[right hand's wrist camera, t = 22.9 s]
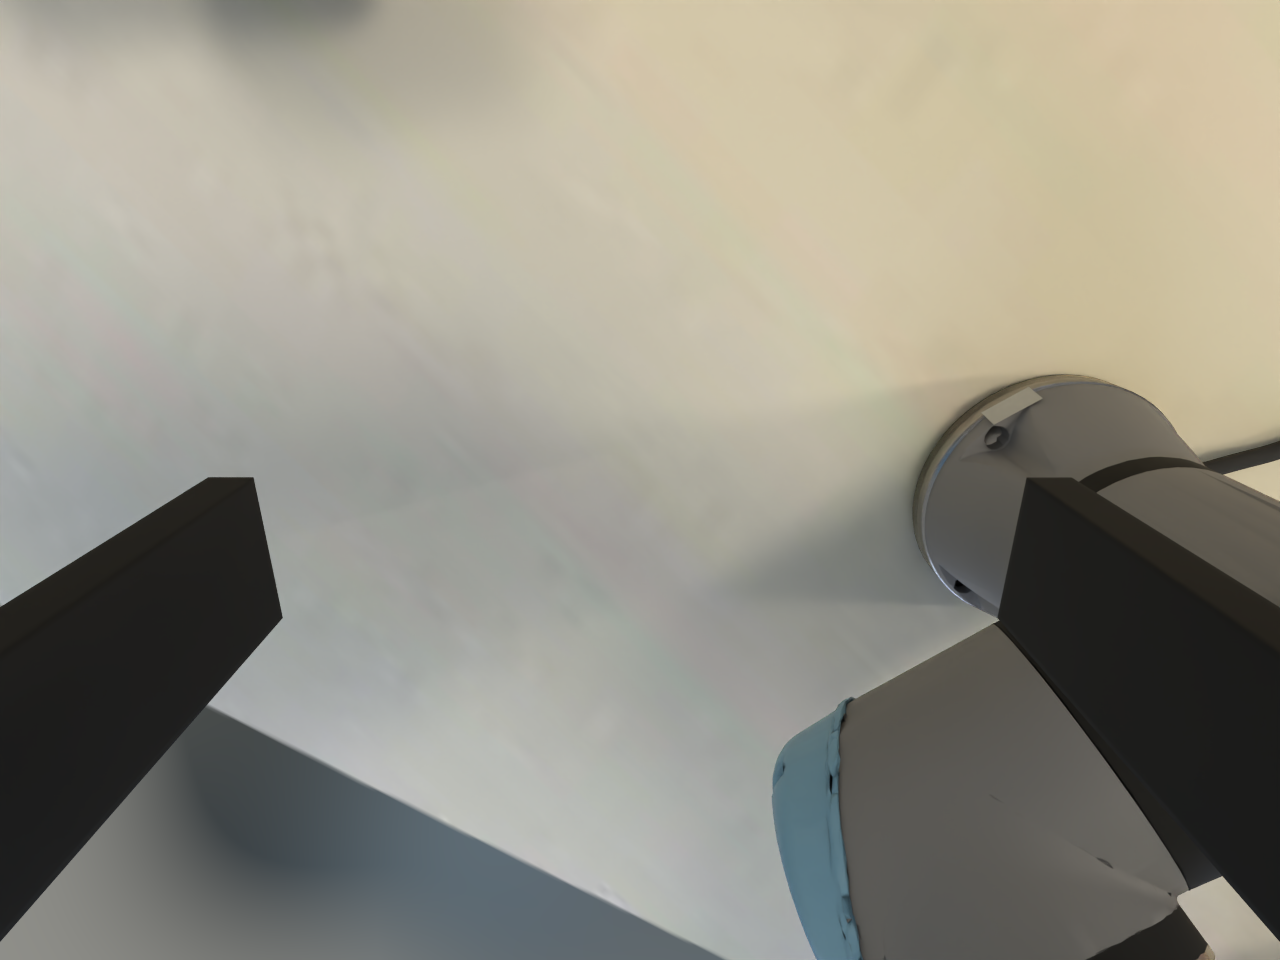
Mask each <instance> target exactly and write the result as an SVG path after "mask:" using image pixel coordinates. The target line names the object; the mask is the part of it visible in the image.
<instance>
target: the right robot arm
mask: <svg viewBox="0 0 1280 960" xmlns="http://www.w3.org/2000/svg"><path fill="white" fill-rule="evenodd" d="M1278 459H1280V441H1279V442H1276V443H1272V444H1269V445H1266V446H1262V447H1259V448H1255V449H1251V450H1247V451H1243V452H1239V453H1235V454H1232V455H1228V456H1224V457H1221V458H1217V459H1213V460H1210V461H1206V462H1201V461H1200V459H1199V458H1198V457H1197V456H1196V455H1195V453H1194V452H1193V451H1192V450H1191V449H1190V448H1189V446H1188V445H1187V444H1186V443H1185V442H1184V441H1183V440H1182V439H1181V437H1180V436H1179V435H1178V434H1177V432H1176V431H1175V429H1174V427H1173V426H1172V425H1171V423H1170V422H1169V421H1168V419H1167V418H1166V417H1165V416H1164V415H1163V413H1162V412H1161V411H1160V410H1159V409H1157V408H1156V407H1155V406H1154V405H1153V404H1152V403H1150V402H1149V401H1147V400H1146V399H1145V398H1143V397H1141V396H1139V395H1137V394H1135V393H1134V392H1131V391H1129V390H1126V389H1124V388H1121V387H1119V386H1116V385H1114V384H1111V383H1109V382H1106V381H1104V380H1100V379H1097V378H1093V377H1087V376H1081V375H1052V376H1045V377H1039V378H1035V379H1030V380H1026V381H1023V382H1020V383H1017V384H1014V385H1012V386H1009V387H1007V388H1005V389H1002V390H1000V391H998V392H996V393H995V394H993V395H991V396H989V397H987V398H986V399H984V400H983V401H981V402H979V403H978V404H976V405H975V406H974V407H972V408H971V409H970V410H968V411H967V412H966V413H965V414H964V415H963V416H961V417H960V418H959V419H958V420H957V421H956V422H955V423H954V424H953V425H952V426H951V427H950V428H949V429H948V430H947V431H946V433H945V434H944V435H943V436H942V438H941V439H940V440H939V441H938V443H937V444H936V446H935V447H934V449H933V450H932V452H931V453H930V455H929V457H928V459H927V461H926V462H925V465H924V467H923V469H922V471H921V474H920V477H919V480H918V483H917V486H916V490H915V495H914V502H913V526H914V532H915V536H916V540H917V543H918V546H919V549H920V551H921V553H922V555H923V557H924V559H925V560H926V562H927V563H928V565H929V566H930V567H931V569H932V570H933V571H934V572H935V574H936V575H937V576H938V577H939V579H940V580H941V581H942V582H943V583H944V585H945V586H946V587H947V588H948V589H949V590H950V591H951V592H952V593H954V594H955V595H956V596H957V597H959V598H960V599H961V600H963V601H965V602H966V603H968V604H970V605H972V606H974V607H976V608H978V609H980V610H982V611H984V612H986V613H988V614H991V615H993V616H995V617H997V618H998V619H999V620H1000V621H998V622H996V623H993V624H992V625H990V626H988V627H986V628H985V629H983V630H981V631H979V632H977V633H975V634H974V635H972V636H970V637H968V638H966V639H965V640H963V641H961V642H959V643H957V644H955V645H954V646H952V647H950V648H948V649H946V650H944V651H943V652H941V653H939V654H937V655H935V656H933V657H932V658H930V659H928V660H926V661H924V662H922V663H921V664H919V665H917V666H915V667H913V668H911V669H910V670H908V671H906V672H904V673H902V674H901V675H899V676H897V677H895V678H893V679H891V680H890V681H888V682H886V683H884V684H882V685H880V686H879V687H877V688H875V689H873V690H871V691H869V692H868V693H866V694H864V695H862V696H860V697H858V698H857V699H855V698H853V697H850V698H848V699H845V700H843V701H842V702H841V703H840V704H839V705H838V707H837V709H836V711H834V712H832V713H831V714H829V715H828V716H826V717H824V718H823V719H821V720H820V721H818V722H816V723H815V724H813V725H812V726H810V727H808V728H807V729H805V730H803V731H802V732H800V733H799V734H797V735H795V736H794V737H793V738H792V739H790V740H789V741H788V742H787V744H786V745H785V746H784V748H783V749H782V751H781V752H780V754H779V756H778V758H777V761H776V764H775V769H774V773H773V795H772V807H773V817H774V824H775V831H776V836H777V842H778V846H779V851H780V855H781V860H782V864H783V868H784V871H785V875H786V878H787V882H788V885H789V889H790V892H791V895H792V898H793V901H794V904H795V907H796V910H797V913H798V915H799V918H800V921H801V923H802V926H803V929H804V931H805V934H806V936H807V939H808V941H809V943H810V946H811V948H812V950H813V952H814V955H815V957H816V959H817V960H1215V955H1214V952H1213V951H1212V949H1211V948H1210V946H1209V945H1208V943H1207V942H1206V941H1205V940H1204V938H1203V937H1202V936H1201V934H1200V933H1199V931H1198V930H1197V929H1196V927H1195V926H1194V925H1193V923H1192V922H1191V921H1190V919H1189V918H1188V916H1187V915H1186V914H1185V912H1184V911H1183V910H1182V908H1181V907H1180V905H1179V904H1178V902H1177V896H1178V895H1180V894H1182V893H1184V892H1186V891H1188V890H1191V889H1193V888H1196V887H1198V886H1200V885H1202V884H1205V883H1207V882H1209V881H1212V880H1214V879H1216V878H1219V877H1221V876H1223V877H1224V878H1225V879H1226V881H1227V882H1228V883H1229V884H1230V885H1231V886H1232V887H1233V889H1234V890H1235V891H1236V892H1237V893H1238V894H1239V895H1240V897H1241V898H1242V899H1243V900H1244V901H1245V902H1246V903H1247V905H1248V906H1249V907H1250V908H1251V909H1252V910H1253V912H1254V913H1255V914H1256V915H1257V916H1258V917H1259V918H1260V920H1261V921H1262V922H1263V923H1264V924H1265V925H1266V926H1267V928H1268V929H1269V930H1270V931H1271V932H1272V933H1273V934H1274V936H1275V937H1276V938H1277V939H1278V940H1279V941H1280V501H1277V500H1275V499H1273V498H1271V497H1269V496H1267V495H1265V494H1263V493H1261V492H1258V491H1256V490H1254V489H1252V488H1250V487H1248V486H1246V485H1244V484H1241V483H1239V482H1237V481H1235V480H1233V479H1231V478H1229V477H1226V476H1224V475H1223V474H1227V473H1230V472H1234V471H1238V470H1241V469H1245V468H1249V467H1253V466H1257V465H1261V464H1265V463H1268V462H1272V461H1275V460H1278ZM282 618H283V617H282V612H281V607H280V602H279V598H278V593H277V588H276V583H275V578H274V574H273V569H272V564H271V559H270V554H269V550H268V545H267V540H266V535H265V531H264V526H263V521H262V516H261V511H260V507H259V502H258V497H257V492H256V487H255V483H254V478H253V477H208V478H207V479H205V480H203V481H202V482H200V483H199V484H197V485H195V486H194V487H192V488H191V489H189V490H187V491H186V492H184V493H183V494H181V495H179V496H178V497H176V498H175V499H173V500H171V501H170V502H168V503H167V504H165V505H163V506H162V507H160V508H159V509H157V510H155V511H154V512H152V513H151V514H149V515H147V516H146V517H144V518H142V519H141V520H139V521H138V522H136V523H134V524H133V525H131V526H130V527H128V528H126V529H125V530H123V531H122V532H120V533H118V534H117V535H115V536H114V537H112V538H110V539H109V540H107V541H106V542H104V543H102V544H101V545H99V546H98V547H96V548H94V549H93V550H91V551H90V552H88V553H86V554H85V555H83V556H82V557H80V558H78V559H77V560H75V561H74V562H72V563H70V564H69V565H67V566H66V567H64V568H62V569H61V570H59V571H58V572H56V573H54V574H53V575H51V576H49V577H48V578H46V579H45V580H43V581H41V582H40V583H38V584H37V585H35V586H33V587H32V588H30V589H29V590H27V591H25V592H24V593H22V594H21V595H19V596H17V597H16V598H14V599H13V600H11V601H9V602H8V603H6V604H5V605H3V606H1V607H0V941H1V940H2V939H3V938H4V937H5V936H6V934H7V933H8V932H9V931H10V930H11V929H12V928H13V926H14V925H15V924H16V923H17V922H18V921H19V919H20V918H21V917H22V916H23V915H24V914H25V913H26V912H27V910H28V909H29V908H30V907H31V906H32V905H33V904H34V902H35V901H36V900H37V899H38V898H39V897H40V895H41V894H42V893H43V892H44V891H45V890H46V889H47V887H48V886H49V885H50V884H51V883H52V882H53V881H54V879H55V878H56V877H57V876H58V875H59V874H60V873H61V871H62V870H63V869H64V868H65V867H66V866H67V865H68V863H69V862H70V861H71V860H72V859H73V858H74V856H75V855H76V854H77V853H78V852H79V851H80V850H81V848H82V847H83V846H84V845H85V844H86V843H87V842H88V840H89V839H90V838H91V837H92V836H93V835H94V834H95V832H96V831H97V830H98V829H99V828H100V827H101V825H102V824H103V823H104V822H105V821H106V820H107V819H108V818H109V816H110V815H111V814H112V813H113V812H114V811H115V809H116V808H117V807H118V806H119V805H120V804H121V803H122V801H123V800H124V799H125V798H126V797H127V796H128V795H129V793H130V792H131V791H132V790H133V789H134V788H135V787H136V785H137V784H138V783H139V782H140V781H141V780H142V779H143V777H144V776H145V775H146V774H147V773H148V772H149V771H150V769H151V768H152V767H153V766H154V765H155V764H156V762H157V761H158V760H159V759H160V758H161V757H162V756H163V754H164V753H165V752H166V751H167V750H168V749H169V748H170V746H171V745H172V744H173V743H174V742H175V741H176V740H177V738H178V737H179V736H180V735H181V734H182V733H183V731H184V730H185V729H186V728H187V727H188V726H189V725H190V724H191V722H192V721H193V720H194V719H195V718H196V717H197V715H198V714H199V713H200V712H201V711H202V710H203V709H204V707H205V706H206V705H207V704H208V703H209V702H210V701H211V699H212V698H213V697H214V696H215V695H216V694H217V693H218V691H219V690H220V689H221V688H222V687H223V686H224V685H225V683H226V682H227V681H228V680H229V679H230V678H231V677H232V675H233V674H234V673H235V672H236V671H237V670H238V668H239V667H240V666H241V665H242V664H243V663H244V662H245V660H246V659H247V658H248V657H249V656H250V655H251V654H252V652H253V651H254V650H255V649H256V648H257V647H258V646H259V644H260V643H261V642H262V641H263V640H264V639H265V638H266V636H267V635H268V634H269V633H270V632H271V631H272V629H273V628H274V627H275V626H276V625H277V624H278V623H279V621H280V620H281V619H282Z"/></svg>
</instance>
